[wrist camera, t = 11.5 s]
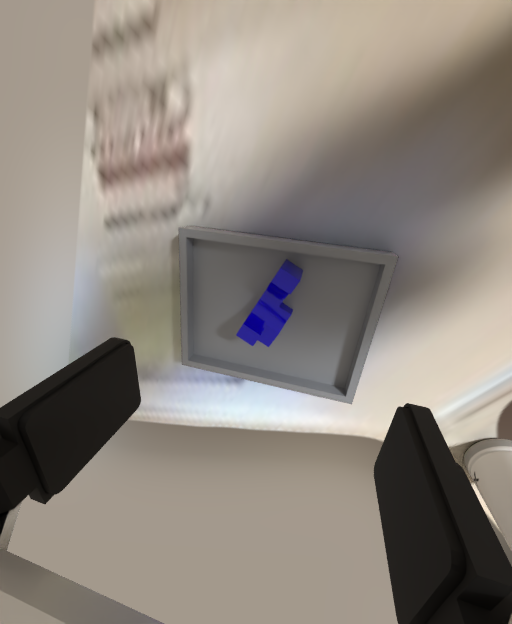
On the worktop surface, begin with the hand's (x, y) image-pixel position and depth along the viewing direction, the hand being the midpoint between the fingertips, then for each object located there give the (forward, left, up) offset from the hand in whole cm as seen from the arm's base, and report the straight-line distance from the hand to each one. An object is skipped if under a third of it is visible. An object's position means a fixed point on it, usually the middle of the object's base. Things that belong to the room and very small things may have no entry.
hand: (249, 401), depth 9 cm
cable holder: (+1, +3, -19) cm, 19 cm away
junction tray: (+2, +5, -19) cm, 20 cm away
